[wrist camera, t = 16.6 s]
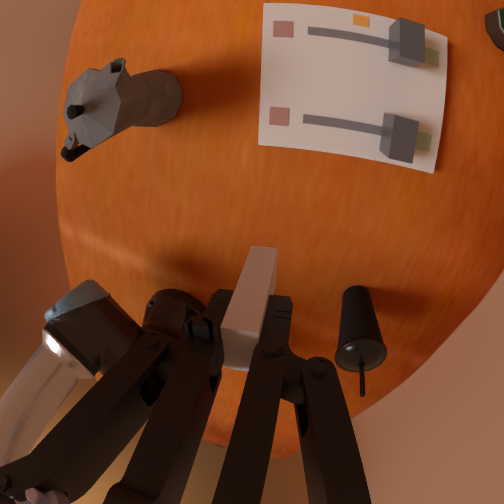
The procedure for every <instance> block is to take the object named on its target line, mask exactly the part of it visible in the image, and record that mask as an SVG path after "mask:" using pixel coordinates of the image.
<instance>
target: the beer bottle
mask: <svg viewBox="0 0 504 504" xmlns="http://www.w3.org/2000/svg"><path fill="white" fill-rule="evenodd" d="M485 23H486V31H487V33H488V34H489V36H490V37H491V39H492V40H493V42H494V44H495V45H496V46H497V47H498V48H500V49H502V50H503V51H504V7H503V8H500V9H497V10H495V11H493V12H491V13H489V14H487V15H485Z"/></svg>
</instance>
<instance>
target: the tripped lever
mask: <svg viewBox="0 0 504 504" xmlns="http://www.w3.org/2000/svg"><path fill="white" fill-rule="evenodd" d="M388 61H390V62H394V63H398V64H401V65H405V66H408V67H413V66H417V65H421V64H425V25H422V24H419V23H416V22H413V21H410V20H407V19H404V18H398V19H397V20H396V21H395V22H394V23H393V24H392V25H391V26H390V27H389V58H388Z"/></svg>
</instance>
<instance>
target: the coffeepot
mask: <svg viewBox="0 0 504 504" xmlns="http://www.w3.org/2000/svg"><path fill="white" fill-rule="evenodd" d="M125 62H126V60H125V59H123V58H119V59H115V60H113V61H112V62H110V63H109V64H108V65H107V66H105V67H104V68H103V69H102V70H96V69H90V68H89V69H87V70H86V71H85V72H84V73H83V74H81V75H80V76H79V77H78V78H77V79H76V80H75V81H74V82H73V83H72V84H71V85H70V86H69V88H68V93H67V97H66V102H65V107H64V112H63V116H64V118H65V121H66V124H67V127H68V129H69V132H70V133H69V134H68V135H67V137H66V139H65V142H64V144H65V146H64V147H63V149H62V151H61V156H62V157H63V158H64V159H65V160H66V161H68V162H72V161H74V160H75V159H77V158H78V157H79V156H81V155H82V154H84V153H85V152H87V151H88V150H90V149H92V148H94V147H95V146H97V145H99V144H100V143H102V142H104V141H105V140H107V139H109V138H111V137H112V136H114V135H116V134H118V133H120V132H121V131H123V130H125V129H127V128H129V127H130V126H145V127H157V126H159V125H161V124H163V123H165V122H167V121H169V120H171V119H173V118H175V116H176V114H177V111H178V109H179V107H180V104H181V100H182V97H183V94H182V91H181V88H180V85H179V83H178V81H177V79H176V77H175V75H172V74H169V73H166V72H162V71H159V70H152V71H148V72H144V73H140V74H136V75H133V76H129V74H128V72H127V70H126V68H125ZM79 143H81V144H82V145H80V146H78V144H79Z"/></svg>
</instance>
